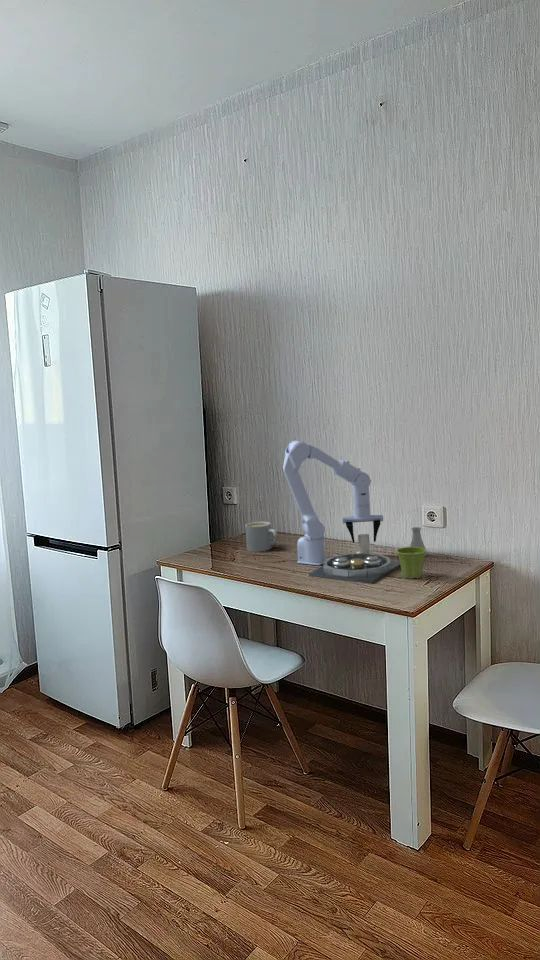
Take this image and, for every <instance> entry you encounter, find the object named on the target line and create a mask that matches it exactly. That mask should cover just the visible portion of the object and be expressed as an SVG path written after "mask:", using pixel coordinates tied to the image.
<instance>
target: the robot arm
mask: <svg viewBox="0 0 540 960" xmlns="http://www.w3.org/2000/svg"><path fill="white" fill-rule="evenodd" d="M284 451H285V452H284V458H283V459H284V461H283V467H282V470H283V473H284V476H285V478H286V480H287V484H288V486H289V488H290V491H291V493H292V496H293V498H294V501H295V503H296V506H297V509H298V511H299V513H300V518H301V521H302V525H301V527H302V530H303V532H304V533H305V534H304V536H301V537H299V539H298V540H297V543H296V544H297V545H296V547H297V562H296V563H297V564H302V565H314V566H321V565H323V563H324V560H326V559H328V558H327V557H326V547H325V536H324V534H325V532H326V528H325V525H324V524H323V523H322V522H321V521H320V520H319V518H318V515H317V514H316V512H315V509H314V508H313V505H312V503H311V500H310V498H309V495H308V492H307V490H306V487H305V485H304V482H303V480H302V478H301V475H300V472H299V469H300V468H301V465H302V464H303V463H304V461H306V460H307V459H310V460H311V459H314V460H317V461H319V462H321V463H322V464H324V465H326V466H327V467H330V468H332V469H333V472H334V475H336V476H338V477H340V478H341V479H343V480H344V481H346V482H348V483H350V484H351V485H352V491H353V492H352V493H353V510H354V515H351V516H343V517H342V524H345V526H346V529H347V531H348V532H349V535H350V537H351V541H352V543H353V544H354V543H355V534H354V523H366V522H367V523H368V522H370V523H371V522H372V524H373V525H372V526H373V542H375V543H376V542H377V536H378V533H379V528H380V527H381V522H384V515H383V514H372V513H371V502H370V500H371V499H370V487H369V486H370V485H371V484H372V479H371V478H370V475H369V474H368V473H367V472H364V471H362V470H361V468H360V467H356V466H354V465H353V464H351V463H350V461H348V459H345V460H344V459H341V460H337V459H335V458H334V457H332V456H331V455H329V454H327V453H326V452H324V451H323V450H321V449H320V448H318V447H315V446H314V445H311V444H308V443H306V442H304V441H301V440H298V439H296V440H292V441H290V442H289V444H288V445H287V447H286V448H285V450H284Z"/></svg>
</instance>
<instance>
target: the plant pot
mask: <svg viewBox="0 0 540 960" xmlns="http://www.w3.org/2000/svg"><path fill="white" fill-rule="evenodd" d="M426 550H427V549H424V548H420V547H410V546H406V547H405V546H403V547H400V548H397V549H396V553H397V556H398V558H399V561H400V565H401V567H400V568H401V574H402V577H403V578H404V579H409V580H412V579H420V578H422V576H423V569H424V568H423V567H424V560H425V557H426V556H425V552H426Z"/></svg>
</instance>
